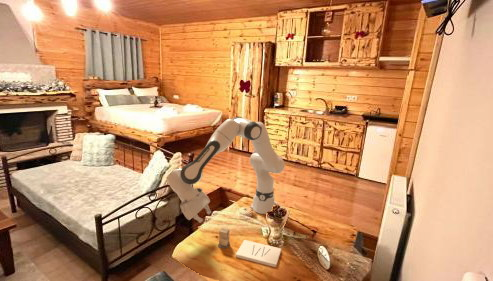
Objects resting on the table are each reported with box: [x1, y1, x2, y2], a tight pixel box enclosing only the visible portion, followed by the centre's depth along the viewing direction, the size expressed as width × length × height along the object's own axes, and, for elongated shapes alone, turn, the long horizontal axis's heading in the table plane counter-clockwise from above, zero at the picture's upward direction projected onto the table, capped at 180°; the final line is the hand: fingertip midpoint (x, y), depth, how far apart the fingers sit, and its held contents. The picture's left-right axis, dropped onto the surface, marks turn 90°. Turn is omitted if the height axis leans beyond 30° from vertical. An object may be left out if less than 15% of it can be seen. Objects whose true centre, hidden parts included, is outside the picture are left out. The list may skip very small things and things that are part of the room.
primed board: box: [235, 239, 282, 268], centre depth 128 cm, size 13×20×2 cm, turn 72°
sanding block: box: [217, 226, 230, 249], centre depth 133 cm, size 5×5×9 cm
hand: (206, 217), depth 134 cm, fingers open, 8 cm apart
